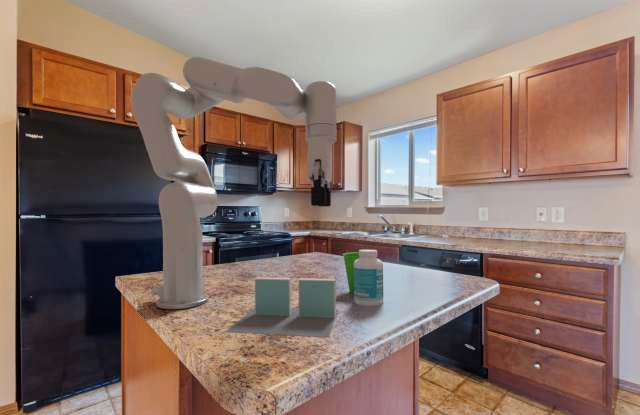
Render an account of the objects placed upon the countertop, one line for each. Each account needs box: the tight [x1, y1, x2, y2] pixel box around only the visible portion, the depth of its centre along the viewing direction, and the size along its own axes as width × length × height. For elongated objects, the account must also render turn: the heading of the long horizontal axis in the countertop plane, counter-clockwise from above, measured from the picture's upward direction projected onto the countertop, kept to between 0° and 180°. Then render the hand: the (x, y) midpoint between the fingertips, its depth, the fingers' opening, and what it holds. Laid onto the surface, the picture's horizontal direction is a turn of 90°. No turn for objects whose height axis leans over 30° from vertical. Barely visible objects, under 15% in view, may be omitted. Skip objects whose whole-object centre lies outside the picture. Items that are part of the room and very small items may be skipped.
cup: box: [342, 251, 360, 295], centre depth 90 cm, size 9×9×11 cm
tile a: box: [254, 276, 292, 316], centre depth 69 cm, size 8×2×8 cm, turn 81°
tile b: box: [297, 277, 337, 319], centre depth 68 cm, size 8×2×8 cm, turn 81°
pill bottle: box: [353, 249, 384, 307], centre depth 79 cm, size 8×7×14 cm
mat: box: [225, 307, 339, 338], centre depth 66 cm, size 20×16×1 cm
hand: (321, 206), depth 75 cm, fingers open, 9 cm apart
